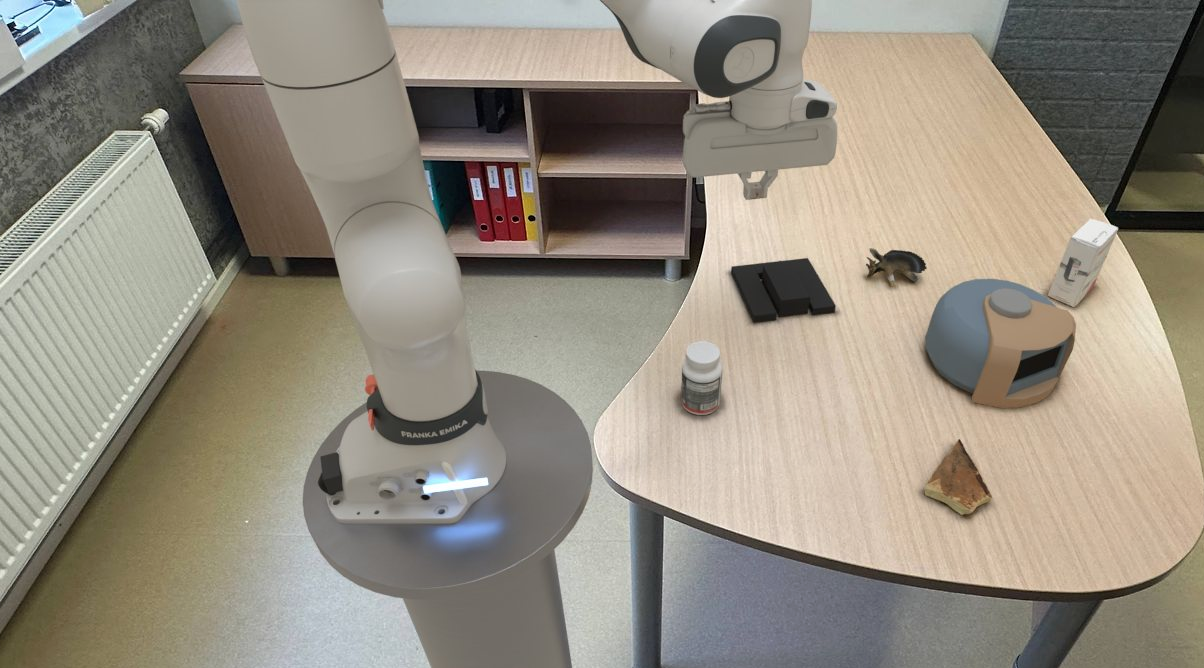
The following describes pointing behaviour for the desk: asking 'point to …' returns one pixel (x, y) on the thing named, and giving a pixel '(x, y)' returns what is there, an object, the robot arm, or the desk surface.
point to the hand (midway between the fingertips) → (754, 197)
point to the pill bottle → (701, 378)
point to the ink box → (1082, 261)
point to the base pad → (758, 298)
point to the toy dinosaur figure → (896, 264)
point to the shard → (958, 482)
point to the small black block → (785, 289)
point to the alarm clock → (1000, 342)
